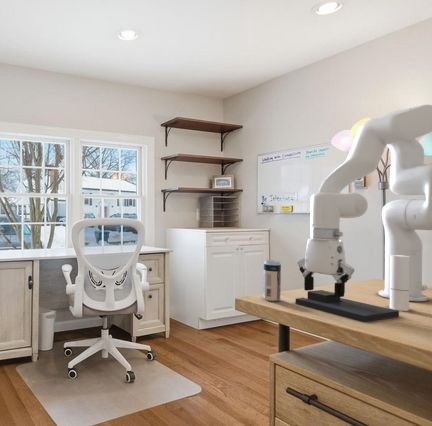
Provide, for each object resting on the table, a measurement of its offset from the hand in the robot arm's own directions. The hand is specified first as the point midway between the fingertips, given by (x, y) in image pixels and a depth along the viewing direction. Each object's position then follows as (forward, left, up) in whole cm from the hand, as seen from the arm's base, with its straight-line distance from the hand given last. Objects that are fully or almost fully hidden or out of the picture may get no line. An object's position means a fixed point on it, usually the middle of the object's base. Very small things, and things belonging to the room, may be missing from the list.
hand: (323, 293), depth 110 cm
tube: (-16, +11, -4) cm, 20 cm away
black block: (0, 0, -3) cm, 3 cm away
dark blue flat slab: (0, +6, -3) cm, 7 cm away
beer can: (+10, -10, -4) cm, 14 cm away
